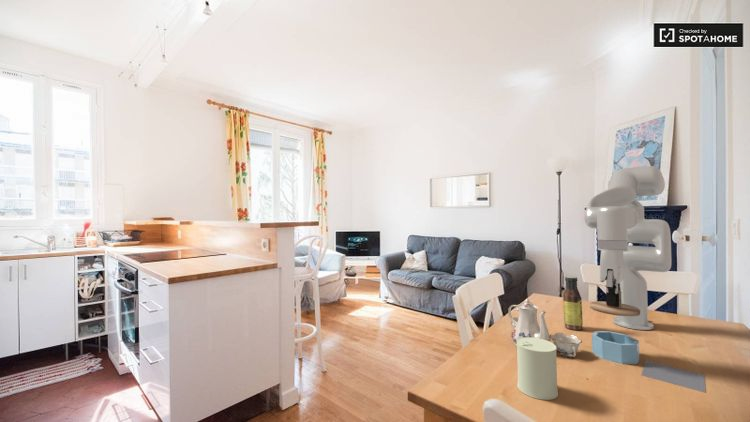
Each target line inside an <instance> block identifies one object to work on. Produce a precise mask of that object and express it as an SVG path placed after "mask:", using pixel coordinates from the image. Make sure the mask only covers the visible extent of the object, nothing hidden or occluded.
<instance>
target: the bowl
mask: <svg viewBox="0 0 750 422" xmlns="http://www.w3.org/2000/svg"><path fill="white" fill-rule="evenodd" d="M591 347H592V348H591V351H592V352H591V353H593V354H594V355H596V356H598V357H599V358H601V359H602V360H604V361H605V360H606V361H610V362H614V363H617V364H621V365H637V364H638V363H639V362H640V340H639V339H637V338H634V337H633V336H630V335H628V334H624V333H619V332H616V331H614V332H613V331H610V330H608V331H607V330H603V331H601V330H597V331H596V330H595V331H594V332H593V333H592V335H591Z"/></svg>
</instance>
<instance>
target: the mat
mask: <svg viewBox="0 0 750 422" xmlns="http://www.w3.org/2000/svg"><path fill="white" fill-rule="evenodd" d="M641 376H643V377H646V378H650V379H653V380H657V381H660V382H661V381H662V382H665V383H669V384H671V385H672V384H673V385H675V386H680V387H683V388H687V389H691V390H694V391H698V392H701V393H706V392H707V391H706V381H705V377H706V376H705V374H702V373H699V372H694V371H691V370H686V369H682V368H679V367H674V366H671V365H666V364H662V363H659V362H655V361H650V360H645V361H644V365H643V368H642V370H641Z"/></svg>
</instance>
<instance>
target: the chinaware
mask: <svg viewBox="0 0 750 422" xmlns="http://www.w3.org/2000/svg"><path fill="white" fill-rule="evenodd" d="M513 307H516V309H515V310H516V311H517V312H518V317H517V316H515V317H513V315H512V314H511V313H512V308H513ZM538 309H539V306H538V305H537V306H536V305H534V304H533V302H531V301H530V299H529V298H526V299H525V300H524V301H523V302H522V303H520V304H512V305H510V306H509V307H508V310H507V311H508V317H509V319H510V320H511V323H510V324H511V327H512V328H514V329H513V330H512V331H511V333H510V338H511V341H513V342H514V346H515V347H516V348H517V340H518V339H519V338H524V337H533V338H539V339H544V340H547V341H549V342H550V338H551V340H552V343H553V344H554V345H555V346H556V347H557V350H556V351H559V352H560V353H559V355H561V356H563V357H570V358H571V357H574V358H575V357H576V356H577V355H576V354H577V353H576V352H577V351H578V349H579V347H580V344H582V343H583V340H582V339H579V337H578V336H576V335H573V334H568V335H567V334H565V333H563V332H557V333H555V334H552V333H551V334H550V333H549V329H548V326H547V323H546V319H545V315H546V314H547V312H546V311H545V310H543V311H542V312H540V313H539V318H538V316H537V315H538V313H537V312H538ZM538 320H539V321H538Z"/></svg>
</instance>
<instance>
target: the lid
mask: <svg viewBox="0 0 750 422" xmlns="http://www.w3.org/2000/svg"><path fill="white" fill-rule="evenodd" d="M618 294H619V304H620V306H619V307H614V306H608V305H606V300H605V301H603V300H602V301H600V300H599V301H590V303H589V308H590V309H592V310H593V311H596V312H598V313H603V314H606V315H607V314H608V315H613V316H617V315H618V316H638V315H640V309H638V308H636V307H634V306H630V305H626V304H622V303H621V291H620V290H618Z"/></svg>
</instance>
